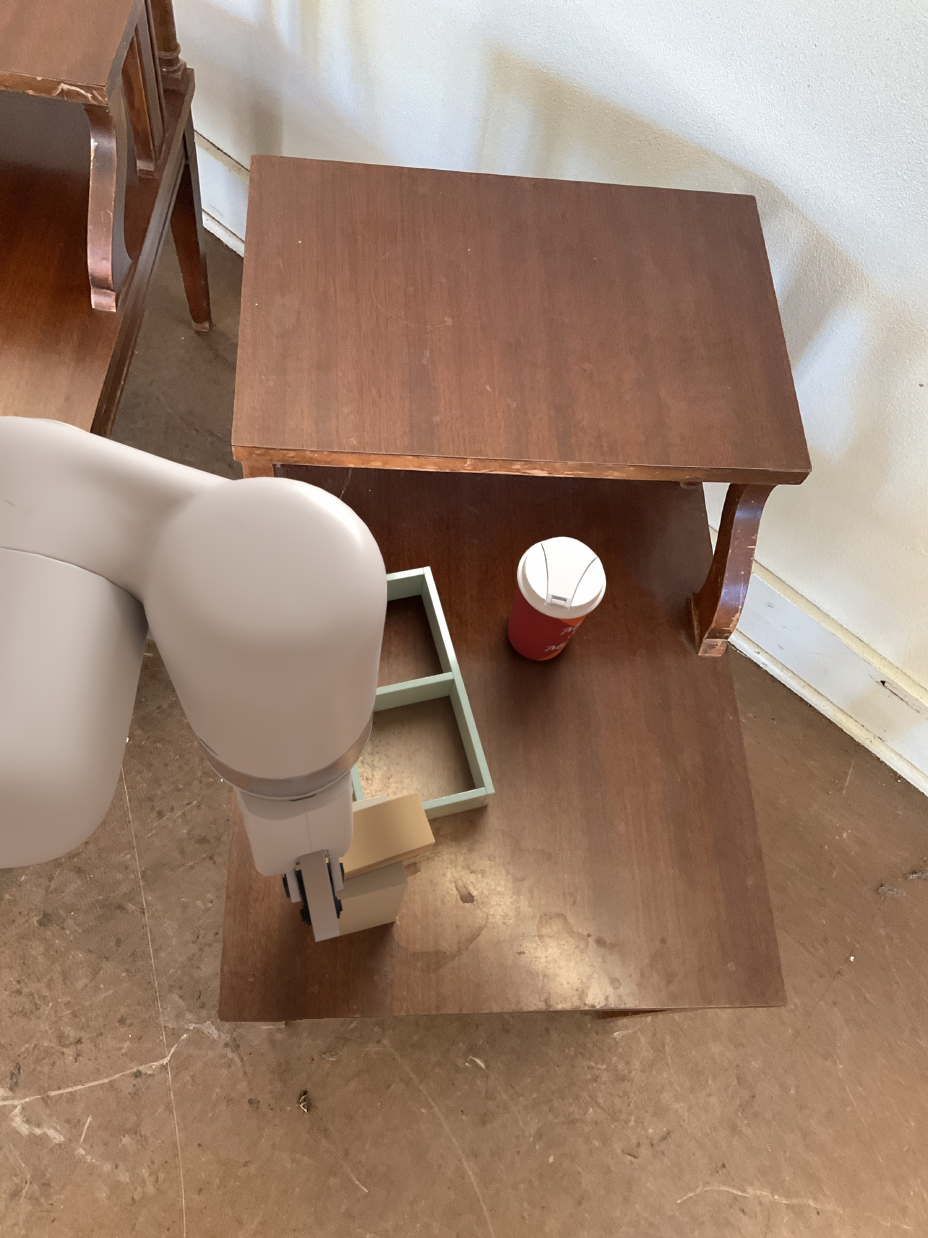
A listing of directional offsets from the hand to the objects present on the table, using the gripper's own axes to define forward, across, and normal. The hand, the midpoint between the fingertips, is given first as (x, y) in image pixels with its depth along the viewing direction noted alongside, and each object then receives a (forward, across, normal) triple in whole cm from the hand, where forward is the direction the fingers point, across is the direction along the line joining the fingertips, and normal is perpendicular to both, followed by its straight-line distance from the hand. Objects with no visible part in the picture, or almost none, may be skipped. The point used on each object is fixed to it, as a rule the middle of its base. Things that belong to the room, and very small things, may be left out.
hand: (297, 803), depth 53 cm
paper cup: (+26, -17, +26) cm, 41 cm away
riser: (+26, +2, +3) cm, 27 cm away
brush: (+6, +2, +4) cm, 8 cm away
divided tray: (+26, -13, +11) cm, 31 cm away
